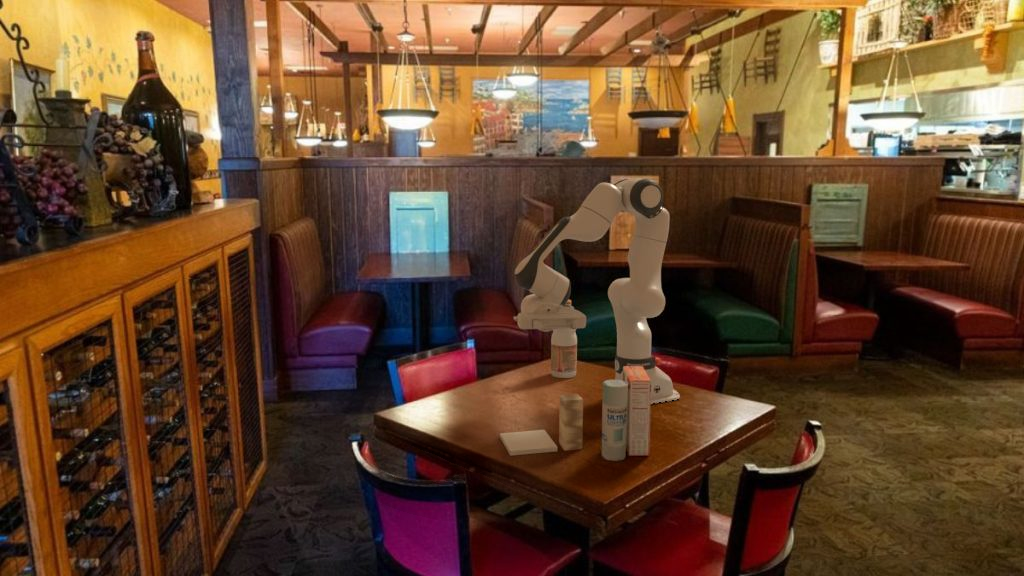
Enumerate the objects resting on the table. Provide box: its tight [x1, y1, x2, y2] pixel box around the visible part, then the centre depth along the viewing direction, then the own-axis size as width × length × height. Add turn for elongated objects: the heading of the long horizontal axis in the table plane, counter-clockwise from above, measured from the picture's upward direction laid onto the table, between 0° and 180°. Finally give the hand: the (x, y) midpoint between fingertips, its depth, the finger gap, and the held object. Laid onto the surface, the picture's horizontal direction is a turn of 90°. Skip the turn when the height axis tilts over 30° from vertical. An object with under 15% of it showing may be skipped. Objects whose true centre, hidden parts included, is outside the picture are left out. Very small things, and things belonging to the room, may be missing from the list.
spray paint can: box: [601, 379, 628, 462], centre depth 185 cm, size 6×6×20 cm
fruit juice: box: [550, 299, 578, 379], centre depth 257 cm, size 9×9×28 cm
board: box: [499, 429, 558, 456], centre depth 194 cm, size 13×13×1 cm
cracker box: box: [623, 366, 651, 457], centre depth 191 cm, size 14×6×21 cm, turn 178°
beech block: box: [558, 393, 584, 452], centre depth 192 cm, size 5×5×14 cm
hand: (559, 326), depth 199 cm, fingers open, 8 cm apart
